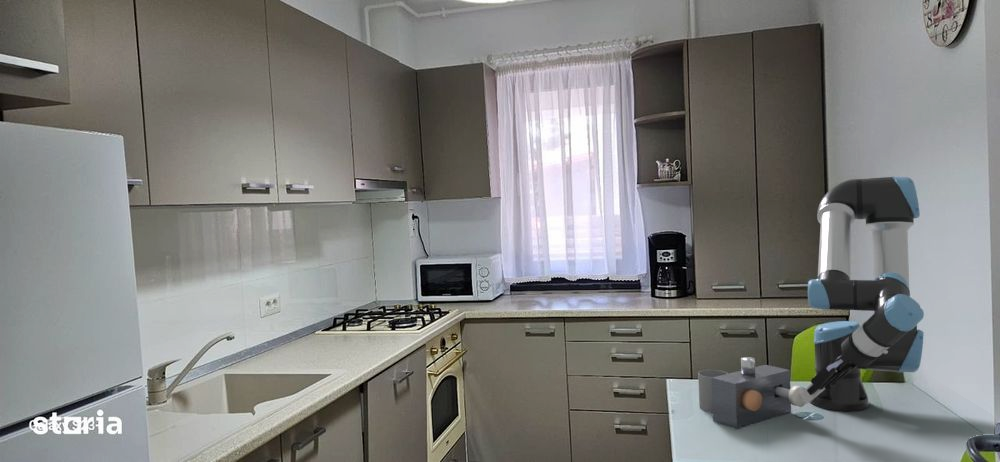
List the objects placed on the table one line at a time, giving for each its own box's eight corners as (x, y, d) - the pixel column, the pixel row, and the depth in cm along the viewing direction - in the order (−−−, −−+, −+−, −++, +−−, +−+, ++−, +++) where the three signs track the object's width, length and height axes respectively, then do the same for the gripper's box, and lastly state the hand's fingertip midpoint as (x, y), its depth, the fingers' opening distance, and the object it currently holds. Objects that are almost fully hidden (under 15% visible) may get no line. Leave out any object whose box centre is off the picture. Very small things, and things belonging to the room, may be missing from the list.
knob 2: (808, 404, 174) (807, 385, 174) (795, 408, 171) (795, 389, 171) (776, 396, 182) (775, 378, 182) (764, 399, 180) (763, 381, 180)
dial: (754, 371, 181) (753, 357, 181) (756, 374, 178) (755, 360, 177) (740, 371, 182) (740, 357, 182) (742, 374, 179) (741, 360, 178)
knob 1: (762, 408, 172) (761, 389, 172) (748, 412, 170) (748, 393, 170) (732, 400, 181) (731, 381, 181) (719, 403, 178) (718, 384, 178)
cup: (731, 412, 184) (730, 377, 184) (701, 412, 186) (699, 377, 185) (727, 403, 192) (726, 369, 192) (698, 403, 194) (697, 369, 193)
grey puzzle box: (791, 412, 181) (789, 370, 181) (736, 429, 170) (735, 383, 170) (766, 405, 188) (765, 364, 188) (713, 421, 177) (711, 377, 177)
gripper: (860, 362, 151) (798, 416, 166) (891, 353, 157) (829, 405, 172) (837, 336, 155) (779, 391, 170) (869, 329, 162) (810, 381, 177)
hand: (804, 398), depth 171 cm, fingers closed
